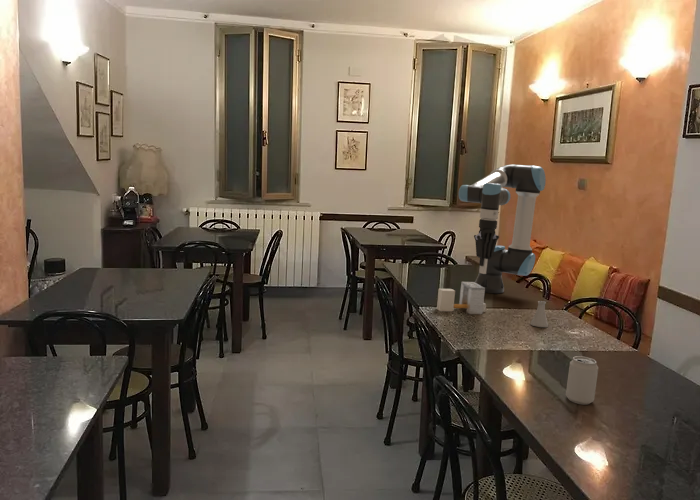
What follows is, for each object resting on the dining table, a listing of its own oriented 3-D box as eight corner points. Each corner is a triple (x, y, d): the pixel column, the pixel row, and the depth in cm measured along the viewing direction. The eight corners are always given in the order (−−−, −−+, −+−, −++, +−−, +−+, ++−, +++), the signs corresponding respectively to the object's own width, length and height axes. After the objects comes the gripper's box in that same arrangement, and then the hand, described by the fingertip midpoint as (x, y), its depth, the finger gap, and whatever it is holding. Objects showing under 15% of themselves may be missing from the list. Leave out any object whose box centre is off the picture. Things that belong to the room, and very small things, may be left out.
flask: (549, 328, 242) (552, 304, 241) (530, 326, 244) (533, 302, 242) (547, 324, 249) (550, 300, 248) (529, 322, 251) (531, 298, 249)
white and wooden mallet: (481, 309, 267) (483, 289, 265) (485, 311, 263) (487, 291, 262) (436, 308, 262) (438, 288, 261) (439, 311, 259) (441, 290, 257)
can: (560, 394, 172) (565, 354, 170) (585, 395, 172) (591, 355, 170) (572, 405, 164) (578, 363, 162) (598, 406, 165) (604, 364, 163)
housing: (471, 307, 270) (474, 282, 268) (482, 314, 258) (485, 288, 257) (458, 306, 269) (461, 281, 267) (469, 313, 257) (471, 287, 255)
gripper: (483, 220, 251) (477, 275, 255) (505, 220, 258) (499, 274, 262) (471, 218, 258) (465, 272, 261) (493, 218, 265) (487, 271, 268)
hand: (482, 273), depth 261 cm, fingers closed
